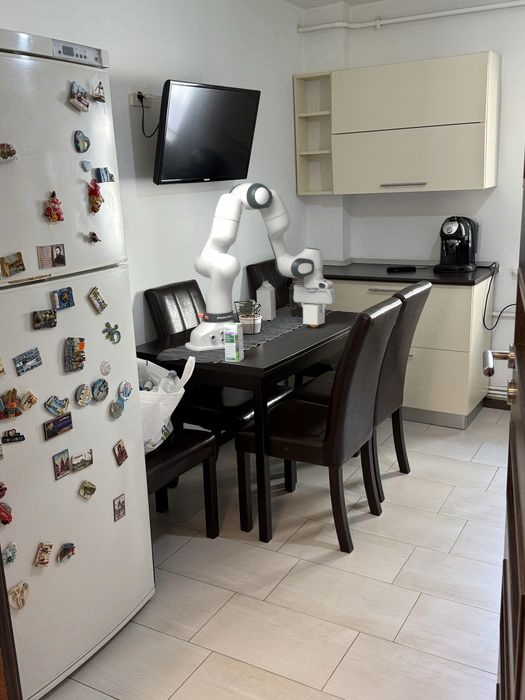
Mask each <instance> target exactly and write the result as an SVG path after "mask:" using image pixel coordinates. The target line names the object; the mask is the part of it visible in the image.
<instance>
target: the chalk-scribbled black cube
mask: <svg viewBox="0 0 525 700" xmlns="http://www.w3.org/2000/svg"><path fill="white" fill-rule="evenodd" d="M295 283H296V282H293V283H291V284H290V286H288V290H289V307H290V309H289V312H290V314H291V315H292V317H294V316H298V317H297V318H299V317H303V307H302V305H301V303H300V302H295V301H294V299H293V297H294V284H295ZM299 283H304V281H299ZM295 285H297V284H295ZM306 304H309V303H306Z"/></svg>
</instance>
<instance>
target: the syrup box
mask: <svg viewBox="0 0 525 700" xmlns="http://www.w3.org/2000/svg"><path fill="white" fill-rule="evenodd" d="M243 333H244V331H243V322H234V323H227V324H225V325H224V341H225V348H224V354H225V355H224V356H225V358H224V359H225V362H233V363H240V362H241V361H242V360H244V359H245V357H244V334H243Z"/></svg>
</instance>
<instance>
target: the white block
mask: <svg viewBox="0 0 525 700" xmlns="http://www.w3.org/2000/svg"><path fill="white" fill-rule="evenodd" d="M323 307H324V306H323V304H317V303H309V304H305V305H303V318H302V324H303V325H309V324H312V325H318V326H319V325H321V324H325V322H326V321H325V317H326V315H325V313H326V312H325V313H321V309H323Z"/></svg>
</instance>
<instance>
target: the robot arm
mask: <svg viewBox="0 0 525 700" xmlns="http://www.w3.org/2000/svg"><path fill="white" fill-rule="evenodd" d="M217 201H218V202H217V204H216V207H215V210H214V215H213V219H212V223H211V227H210V232H209V234H208V235H209V236H208V238H207V240H206V243H205V244H204V246H203V249H202V250H201V251H200V253H198V254H197V255H196V257H195V259H194V262H193V267H194V270H195V272H196V273H197V274H199V275H200V276H202V277H204V278H209V279H210V283H209V288H208V290H207V291H206V292H205V294H204V296H205V310H206V311H205V312H204V313H202V312H199V313H198V314H197V315H198V317H199V318H201V319H202V322H200V323H199V324H198V325H197V326H196V327H195V328H194V329H192V331H191V333H190V337H189V338H190V339H189V340H190V341H189V342H185V344H184V345H185V348H186V349H187V350H190V351H193V352H202V351H203V352H204V351H211V350H212V351H213V350H220V349H221V350H222V349H225V341H224V325H225V324H227V323H235V315H234V310H233V297H232V296H233V294H232V293H233V288H234V284H235V280H236V279H237V277H238V276H239V274H240V272H241V268H242V267H241V263H240V260H239V259H238V258H237V257H236V256H234V255H232V254H229V253H228V251H229V250H230V248H231V247H232V245H234V243H235V242H236V240H237V236H238V232H239V227H240V221H241V217H242V213H243V212H244V211H245V210H246V211H253V210H258V212H259V213H260V215H261V217H262V219H263V220H262V221H263V222H264V225H265V228H266V231H267V237H268V240H269V243H270V247H271V249H272V253H273V255H274V265H275V266H274V267H275V271H276V273H277V274H278V275H279V276H281V277H284V278H292V279H293V278H294V279H302V278H303V282H304V283H299V282H300V281H299V282H294V283H295V284H297V285H295V284H294V297H293V299H294V301H295V302H300V303H301V305H302V307H303V305H305V304H306V303H317V304H323V306H324V307H323V309H321V313H326V309H327V307H328V305H333V304H335V302H336V291H335V289H334V288H333V286H334V282H333V281H331V280H328V279H326V278H324V275H323V268H324V261H323V254H322V251H321V250H320V249H319V248H317V247H316V248H315V247H304V249H303V250H302V251H301V252H300V253H298V254H297V255H292V254H291V253H289V251H288V250H287V246H286V243H285V239H284V234H285V233H286V232H287V231H288V230H289V228H290V226H291V217H290V214H289V211H288V209H287V207H286V205H285V203H284V201H283V199H282V197H281V196H280V194H279V193H278V191H276V190H275V189H271V188H270V189H269V188H268V186H267V185H265V184H263V183H260V182H259V183H258V182H245V183H239V184H236V185H234V186H233V187H232V188H231V189H230V191H229V192H226V193H223V194H222V195H221V196H220V197H219V199H218V200H217Z"/></svg>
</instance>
